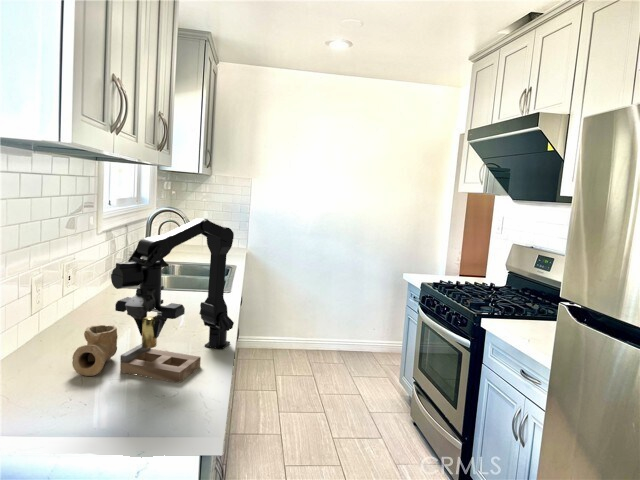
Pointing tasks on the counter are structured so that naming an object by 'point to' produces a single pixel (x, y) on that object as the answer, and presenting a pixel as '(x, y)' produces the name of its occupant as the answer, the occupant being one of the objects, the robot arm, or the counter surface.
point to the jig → (158, 363)
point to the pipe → (95, 350)
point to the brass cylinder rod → (148, 333)
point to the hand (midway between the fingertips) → (149, 336)
